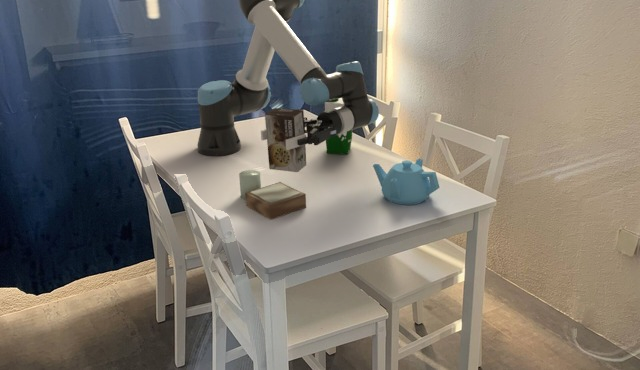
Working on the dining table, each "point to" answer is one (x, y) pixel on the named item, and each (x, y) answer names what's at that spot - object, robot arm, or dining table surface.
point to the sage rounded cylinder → (249, 181)
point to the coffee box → (278, 131)
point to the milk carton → (340, 141)
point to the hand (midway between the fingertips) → (273, 140)
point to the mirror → (275, 200)
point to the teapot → (407, 182)
